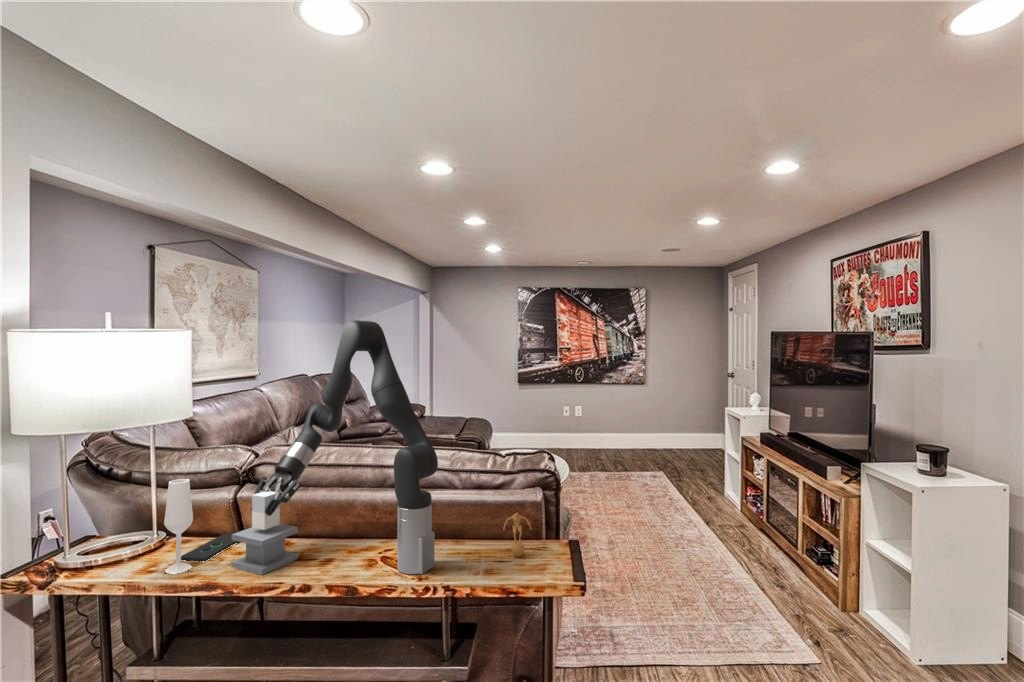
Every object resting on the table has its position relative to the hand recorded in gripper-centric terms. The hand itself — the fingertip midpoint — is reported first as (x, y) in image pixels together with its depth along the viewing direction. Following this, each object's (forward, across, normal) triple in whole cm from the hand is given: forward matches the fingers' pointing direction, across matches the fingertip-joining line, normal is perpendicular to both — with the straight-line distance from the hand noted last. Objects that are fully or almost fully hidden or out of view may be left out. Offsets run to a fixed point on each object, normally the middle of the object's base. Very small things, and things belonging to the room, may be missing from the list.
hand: (260, 512), depth 144 cm
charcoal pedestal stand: (+9, 0, +12) cm, 15 cm away
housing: (+2, 0, +4) cm, 5 cm away
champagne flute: (+18, -18, +2) cm, 26 cm away
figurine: (-15, +62, +36) cm, 74 cm away
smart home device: (+9, -23, +13) cm, 28 cm away
